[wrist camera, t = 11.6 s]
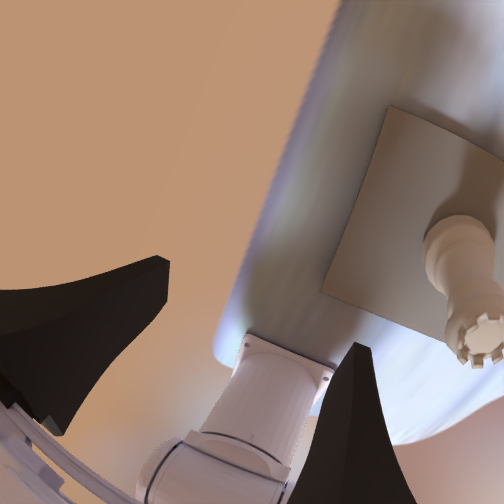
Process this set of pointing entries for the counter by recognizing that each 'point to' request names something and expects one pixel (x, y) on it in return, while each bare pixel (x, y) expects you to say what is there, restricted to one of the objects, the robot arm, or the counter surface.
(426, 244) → the rook chess piece
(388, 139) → the mat
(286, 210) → the counter surface
